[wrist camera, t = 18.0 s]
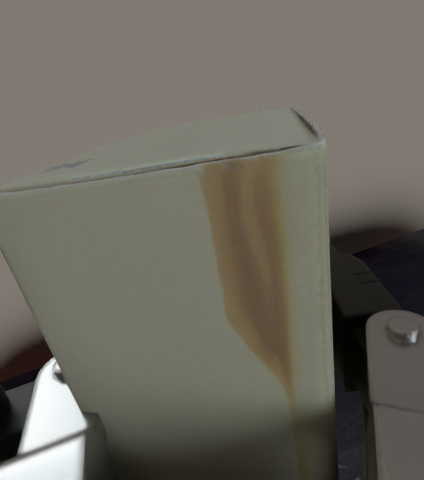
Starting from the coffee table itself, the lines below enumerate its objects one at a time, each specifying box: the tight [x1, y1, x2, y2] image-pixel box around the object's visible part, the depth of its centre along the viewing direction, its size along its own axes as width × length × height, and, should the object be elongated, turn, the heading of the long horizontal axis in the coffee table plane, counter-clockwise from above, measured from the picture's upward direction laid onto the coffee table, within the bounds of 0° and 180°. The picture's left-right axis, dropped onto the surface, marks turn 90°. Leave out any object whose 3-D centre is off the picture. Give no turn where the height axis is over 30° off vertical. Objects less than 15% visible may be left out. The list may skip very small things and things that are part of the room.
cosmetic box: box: [0, 107, 338, 480], centre depth 8 cm, size 6×4×12 cm
